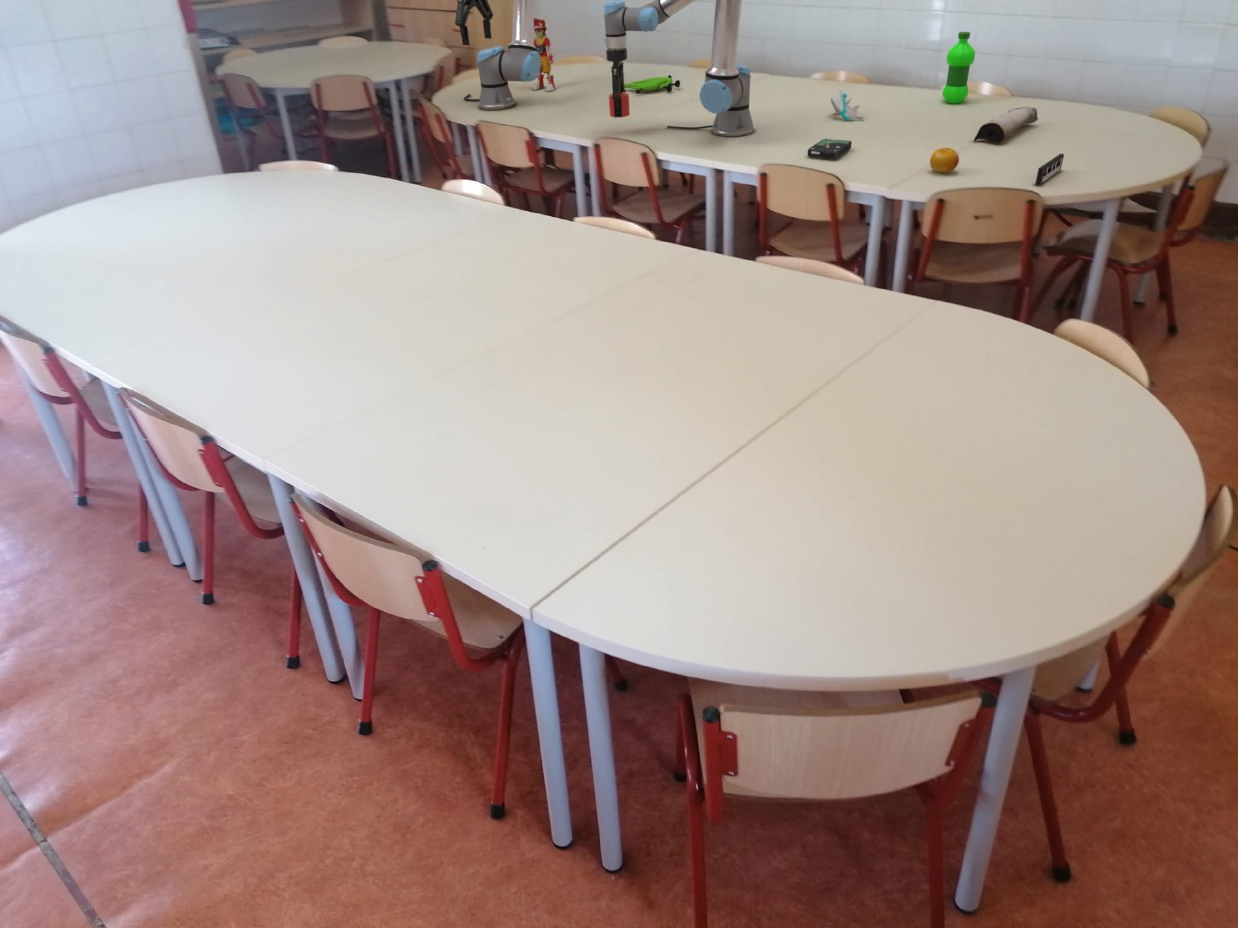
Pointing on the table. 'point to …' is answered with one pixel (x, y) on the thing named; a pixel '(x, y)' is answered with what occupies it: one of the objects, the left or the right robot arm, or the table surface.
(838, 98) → the anatomical model
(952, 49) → the plastic bottle
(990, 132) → the rolled mat
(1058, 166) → the midi keyboard
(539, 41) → the toy
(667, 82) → the toy
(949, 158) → the fruit
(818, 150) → the disk drive
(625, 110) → the canister
